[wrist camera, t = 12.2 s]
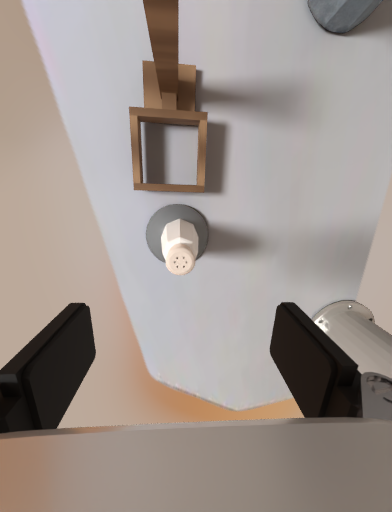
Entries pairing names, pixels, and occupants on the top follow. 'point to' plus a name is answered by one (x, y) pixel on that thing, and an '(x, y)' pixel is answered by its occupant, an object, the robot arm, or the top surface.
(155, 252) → the coaster
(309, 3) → the moka pot
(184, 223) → the pepper shaker
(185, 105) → the ring stand
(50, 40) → the top surface
